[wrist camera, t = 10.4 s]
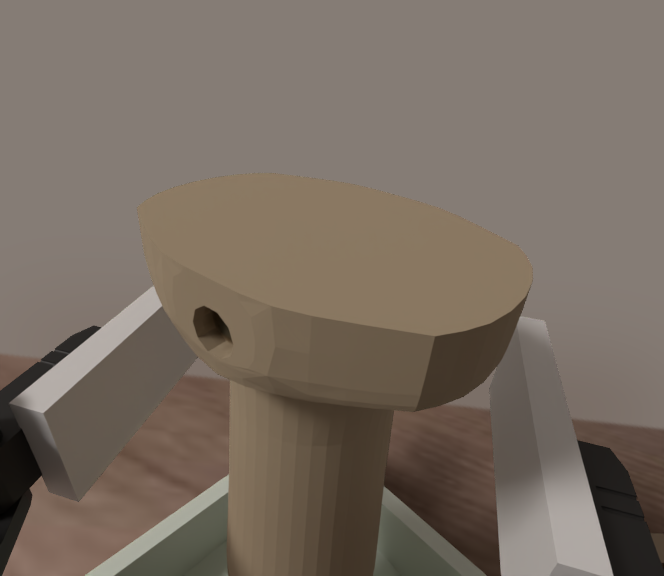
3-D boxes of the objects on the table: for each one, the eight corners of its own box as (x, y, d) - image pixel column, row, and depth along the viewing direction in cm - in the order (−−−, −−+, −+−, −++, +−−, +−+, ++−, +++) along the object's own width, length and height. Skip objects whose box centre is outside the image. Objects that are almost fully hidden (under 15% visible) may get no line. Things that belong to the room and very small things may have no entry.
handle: (272, 530, 18) (277, 162, 10) (412, 645, 15) (563, 241, 7) (172, 642, 14) (71, 210, 7) (329, 824, 11) (455, 400, 4)
